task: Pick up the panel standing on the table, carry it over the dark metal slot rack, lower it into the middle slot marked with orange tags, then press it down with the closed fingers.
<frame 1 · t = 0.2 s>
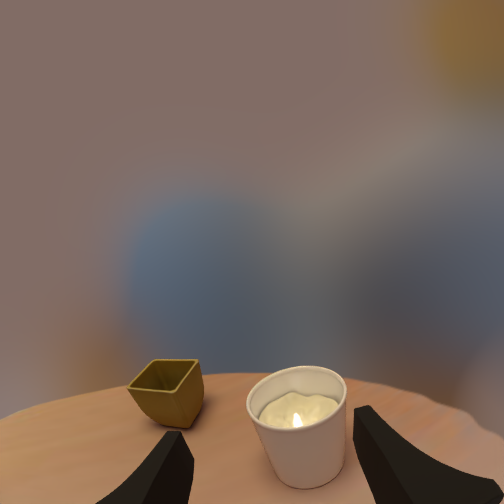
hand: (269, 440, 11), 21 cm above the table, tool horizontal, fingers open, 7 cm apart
candle holder: (309, 464, 29), on the table
flower pot: (182, 418, 42), on the table
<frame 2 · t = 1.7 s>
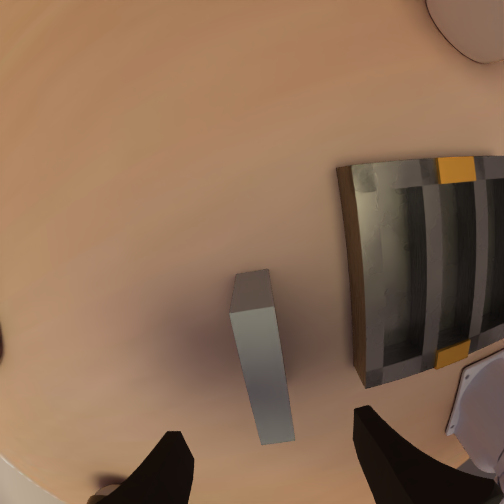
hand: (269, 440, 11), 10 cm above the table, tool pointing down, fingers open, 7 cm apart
candle holder: (463, 22, 14), on the table
panel: (263, 334, 20), on the table
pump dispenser: (137, 495, 26), on the table
rack: (436, 258, 19), on the table
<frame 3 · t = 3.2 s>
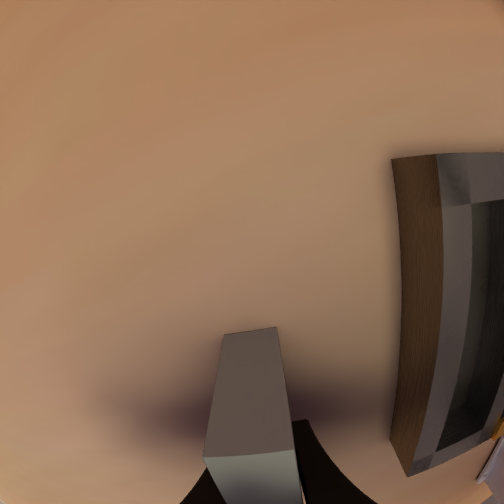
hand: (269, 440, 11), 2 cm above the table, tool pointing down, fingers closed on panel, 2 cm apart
panel: (267, 415, 12), on the table, touching gripper
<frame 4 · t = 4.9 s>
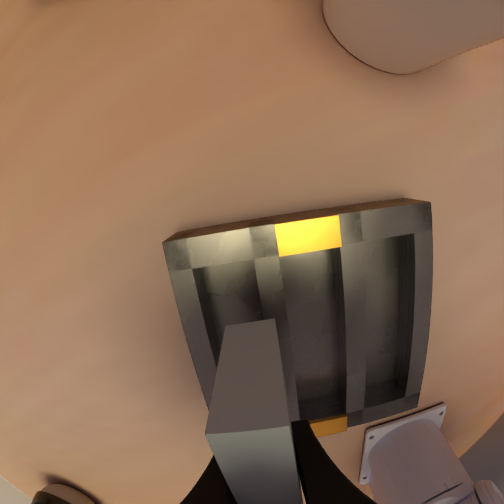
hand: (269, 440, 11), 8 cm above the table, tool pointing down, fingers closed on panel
candle holder: (381, 23, 14), on the table
panel: (267, 404, 13), point 6 cm above the table, touching gripper
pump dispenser: (78, 495, 25), on the table
rack: (310, 324, 18), on the table
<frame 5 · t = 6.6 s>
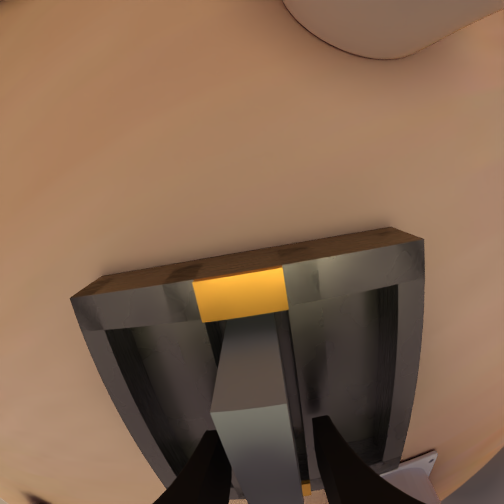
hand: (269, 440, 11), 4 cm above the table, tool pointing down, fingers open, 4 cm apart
panel: (266, 393, 14), point 1 cm above the table, touching rack
rack: (266, 383, 15), on the table
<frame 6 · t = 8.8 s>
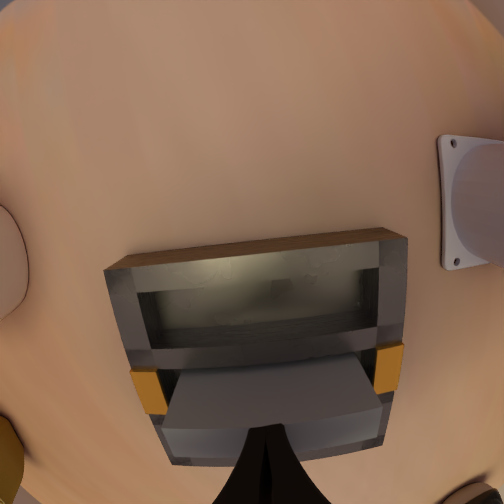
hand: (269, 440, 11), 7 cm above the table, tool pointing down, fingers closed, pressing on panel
flower pot: (3, 425, 21), on the table
panel: (268, 363, 16), point 1 cm above the table, touching gripper, rack
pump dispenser: (458, 493, 24), on the table
rack: (266, 356, 17), on the table
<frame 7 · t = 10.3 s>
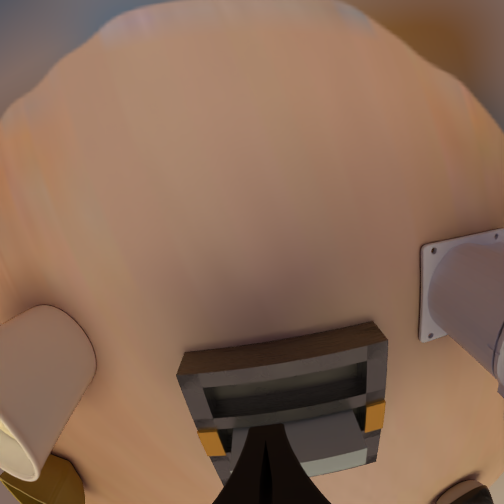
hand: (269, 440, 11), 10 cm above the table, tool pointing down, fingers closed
candle holder: (59, 346, 22), on the table
flower pot: (62, 464, 26), on the table
panel: (292, 414, 22), point 1 cm above the table, touching rack
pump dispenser: (453, 489, 29), on the table
rack: (290, 408, 22), on the table
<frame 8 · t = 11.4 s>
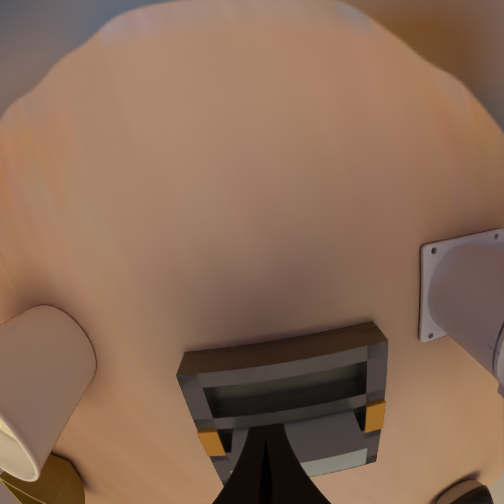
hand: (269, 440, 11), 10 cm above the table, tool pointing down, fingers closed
candle holder: (59, 346, 22), on the table
flower pot: (62, 464, 26), on the table
panel: (292, 414, 22), point 1 cm above the table, touching rack
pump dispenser: (453, 489, 29), on the table
rack: (290, 408, 22), on the table
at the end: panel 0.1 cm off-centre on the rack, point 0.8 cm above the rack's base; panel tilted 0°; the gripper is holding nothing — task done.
